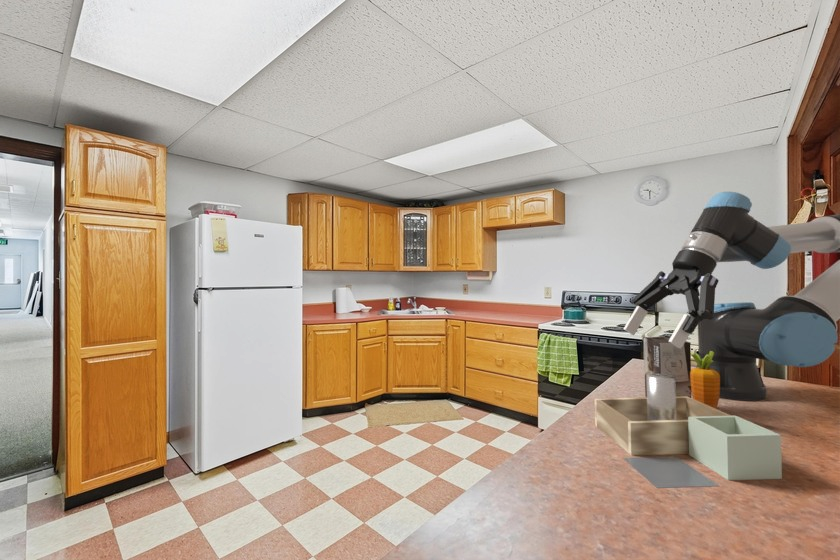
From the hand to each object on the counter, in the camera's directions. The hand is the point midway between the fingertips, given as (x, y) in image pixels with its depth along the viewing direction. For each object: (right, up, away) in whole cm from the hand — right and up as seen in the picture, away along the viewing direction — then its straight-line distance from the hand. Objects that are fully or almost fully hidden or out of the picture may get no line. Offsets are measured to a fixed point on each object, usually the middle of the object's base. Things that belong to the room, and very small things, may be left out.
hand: (649, 338), depth 84 cm
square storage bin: (-1, -17, -24) cm, 29 cm away
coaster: (-12, -17, -25) cm, 33 cm away
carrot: (+9, -17, -5) cm, 20 cm away
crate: (-5, -17, -13) cm, 22 cm away
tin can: (-5, -17, -13) cm, 22 cm away
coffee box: (+6, -17, +4) cm, 19 cm away
